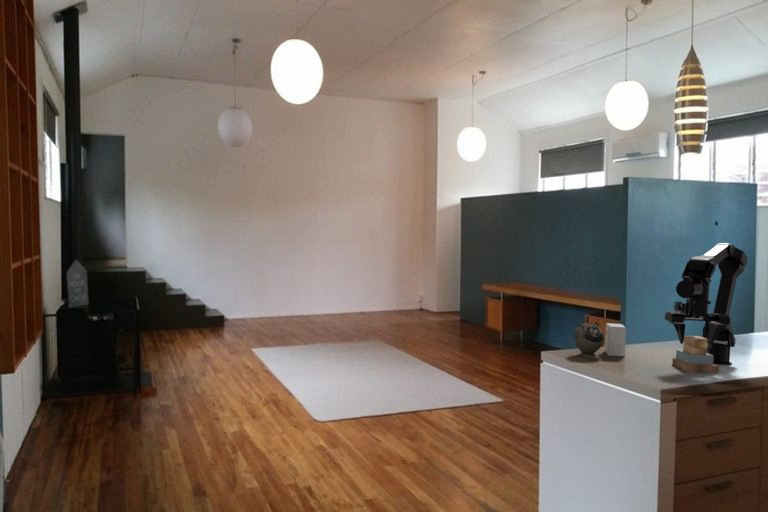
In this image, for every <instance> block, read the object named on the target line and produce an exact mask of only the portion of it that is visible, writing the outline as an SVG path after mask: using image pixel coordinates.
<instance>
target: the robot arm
mask: <svg viewBox="0 0 768 512" xmlns="http://www.w3.org/2000/svg"><path fill="white" fill-rule="evenodd" d="M747 265H748V255H747V254H746V253H745V252H744V251H743V250H741V249H739V248H737V247H736V246H735V245H734V244H733V243H729V242H728V243H727V242H718V243H716V244H715V245H714V247H712V248H711V249H710V250H708V251H706V253H704V254H702V255H697V256H693V257H690V258H689V260H688V261H687V262H686V265H685V267H684V269H683V272H682V275H681V279H682V280H681V281H679V282H678V283H677V284H676V287H675V292H676V293H677V295H678V297H680V298H682V299H686V301H685V302H684V303H683V301H675V302H674V304H673V305H674V309H673V310H674V311H667V312H665V314H664V320H665V321H668V323H670V324H672V325H673V327H674V329H675V331H676V334H677V335H676V336H677V338H678V341H679V344H681V345H683V344H684V336H685V331H686V323H684V322H685V321H694V322H695V321H696V322H699V321H700V322H705V323H704V326H703V327H702V337H703V338H706V339H707V353H708V354H711V355H713V356H714V357H713V364H715V365H717V364H719V365H733V363H732V361H730V358H731V357H730V356H731V348H735V347H736V337H735V335H734V332H733V325H732V319H731V317H730V312H731V307H732V302H733V298H734V292H735V289H736V283H737V279H738V277H739V276H740V275H742V274H743V273H744V271H745V268H746V266H747ZM716 266H717V267H718V269H719V272H720V274H721V275H720V281H719V285H718V289H717V294H716V299H715V304H714V308H713V313H712V312H710V313H709V305H711V303H712V302H711V300H709V299H710V298H709V297H710V286H711V285H710V284H711V283H712V280H711V279H712V277H713V276H714V273H715V272H716V270H717V267H716Z"/></svg>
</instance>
